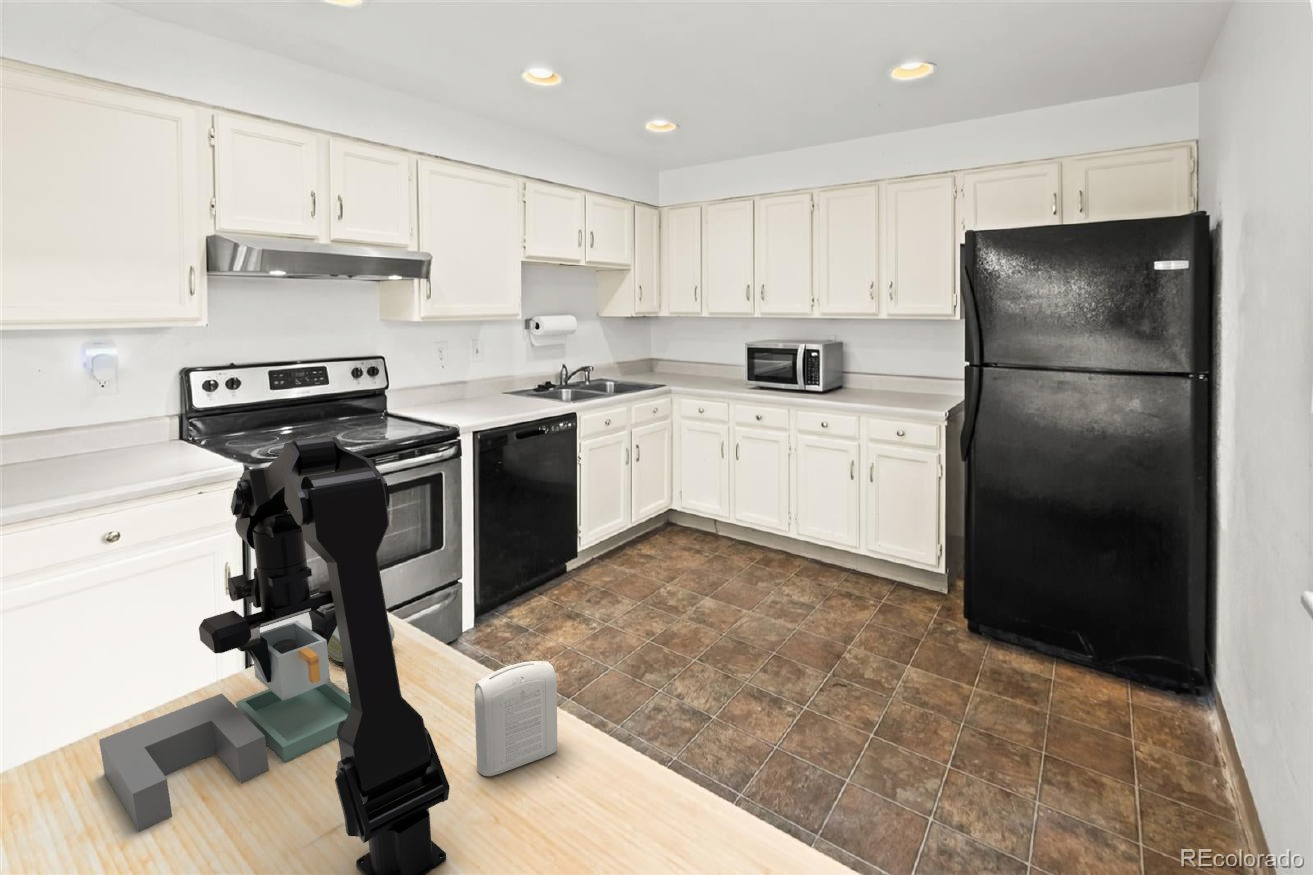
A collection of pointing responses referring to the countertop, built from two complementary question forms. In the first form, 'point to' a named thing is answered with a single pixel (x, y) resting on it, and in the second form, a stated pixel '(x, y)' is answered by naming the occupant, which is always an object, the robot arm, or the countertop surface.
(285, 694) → the toner caddy
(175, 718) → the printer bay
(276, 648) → the dark grey rounded piece
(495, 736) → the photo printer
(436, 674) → the countertop surface
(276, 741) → the tray
